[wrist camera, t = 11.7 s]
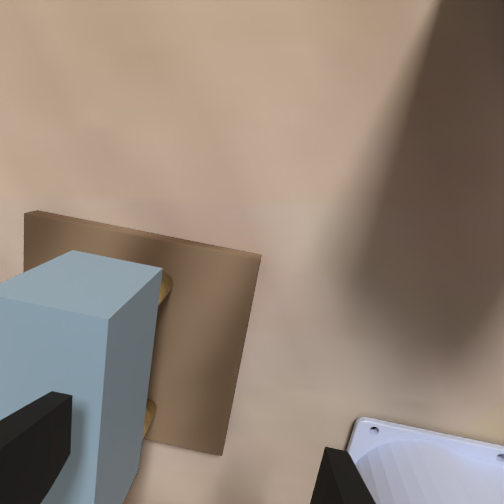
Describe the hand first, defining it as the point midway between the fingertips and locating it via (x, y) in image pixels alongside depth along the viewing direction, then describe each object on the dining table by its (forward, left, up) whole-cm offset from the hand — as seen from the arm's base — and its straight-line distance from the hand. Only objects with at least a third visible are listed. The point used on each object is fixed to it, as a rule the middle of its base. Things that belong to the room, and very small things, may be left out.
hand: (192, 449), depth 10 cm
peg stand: (+5, +3, -10) cm, 11 cm away
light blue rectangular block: (+5, +3, -6) cm, 9 cm away
